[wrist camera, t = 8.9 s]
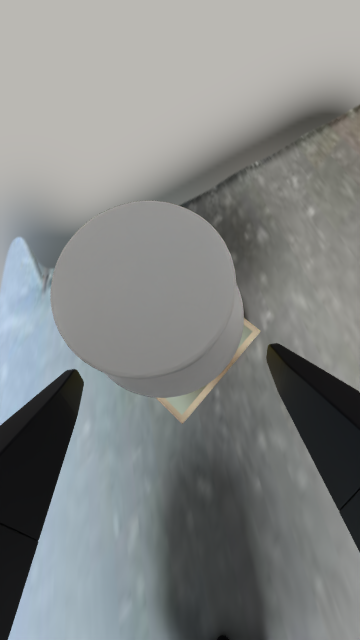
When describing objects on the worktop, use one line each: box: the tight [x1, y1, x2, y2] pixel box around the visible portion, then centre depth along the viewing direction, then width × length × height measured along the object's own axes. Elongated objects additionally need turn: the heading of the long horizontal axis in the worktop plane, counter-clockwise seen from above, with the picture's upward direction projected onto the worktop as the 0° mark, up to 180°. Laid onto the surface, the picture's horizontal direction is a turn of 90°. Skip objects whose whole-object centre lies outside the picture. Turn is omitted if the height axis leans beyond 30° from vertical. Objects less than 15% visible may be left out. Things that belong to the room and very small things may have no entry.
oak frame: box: [157, 318, 260, 424], centre depth 19 cm, size 10×10×3 cm
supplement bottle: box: [51, 201, 244, 398], centre depth 11 cm, size 7×7×13 cm
